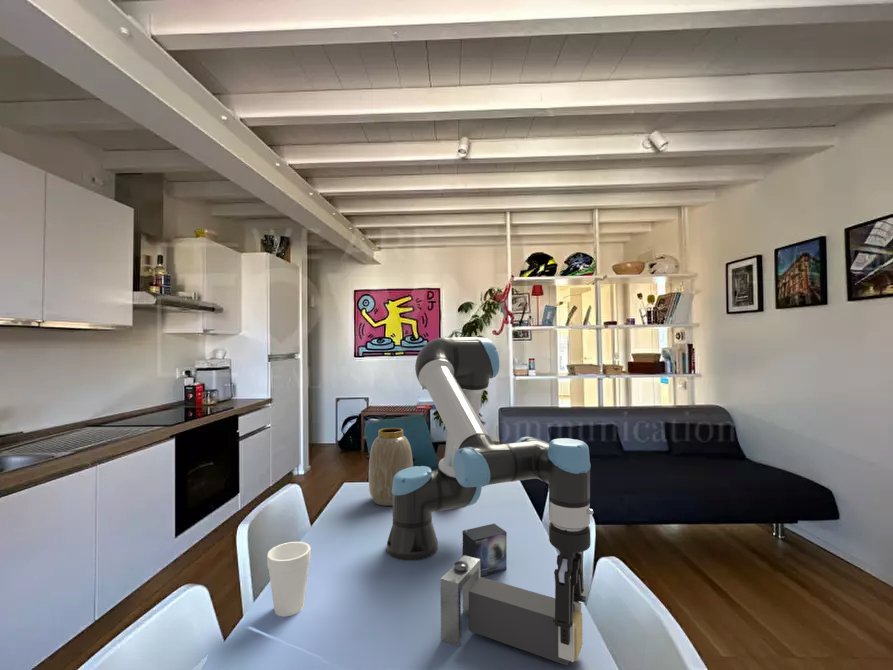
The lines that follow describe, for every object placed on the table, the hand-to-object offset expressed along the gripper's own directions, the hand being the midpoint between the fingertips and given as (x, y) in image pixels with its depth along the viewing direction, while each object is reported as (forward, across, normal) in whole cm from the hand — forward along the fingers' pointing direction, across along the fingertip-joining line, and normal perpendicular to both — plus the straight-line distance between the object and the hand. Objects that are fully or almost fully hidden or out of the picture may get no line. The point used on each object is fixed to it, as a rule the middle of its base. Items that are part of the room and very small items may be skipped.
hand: (570, 646), depth 82 cm
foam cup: (+4, -12, +61) cm, 62 cm away
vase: (+4, +56, +81) cm, 98 cm away
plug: (+2, 0, +10) cm, 10 cm away
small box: (+4, +24, +28) cm, 37 cm away
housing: (+3, 0, +23) cm, 23 cm away
